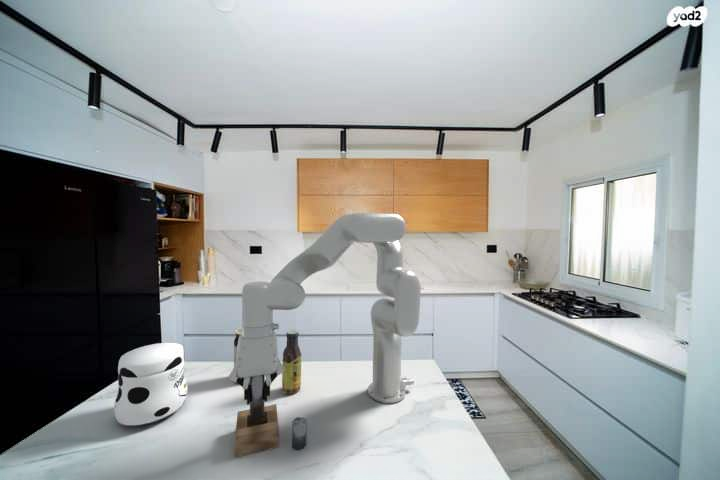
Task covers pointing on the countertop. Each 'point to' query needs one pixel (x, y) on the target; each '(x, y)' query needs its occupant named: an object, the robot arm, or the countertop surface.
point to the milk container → (150, 384)
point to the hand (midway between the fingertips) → (257, 399)
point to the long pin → (257, 397)
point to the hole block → (256, 432)
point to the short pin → (299, 433)
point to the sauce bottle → (291, 364)
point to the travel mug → (238, 333)
